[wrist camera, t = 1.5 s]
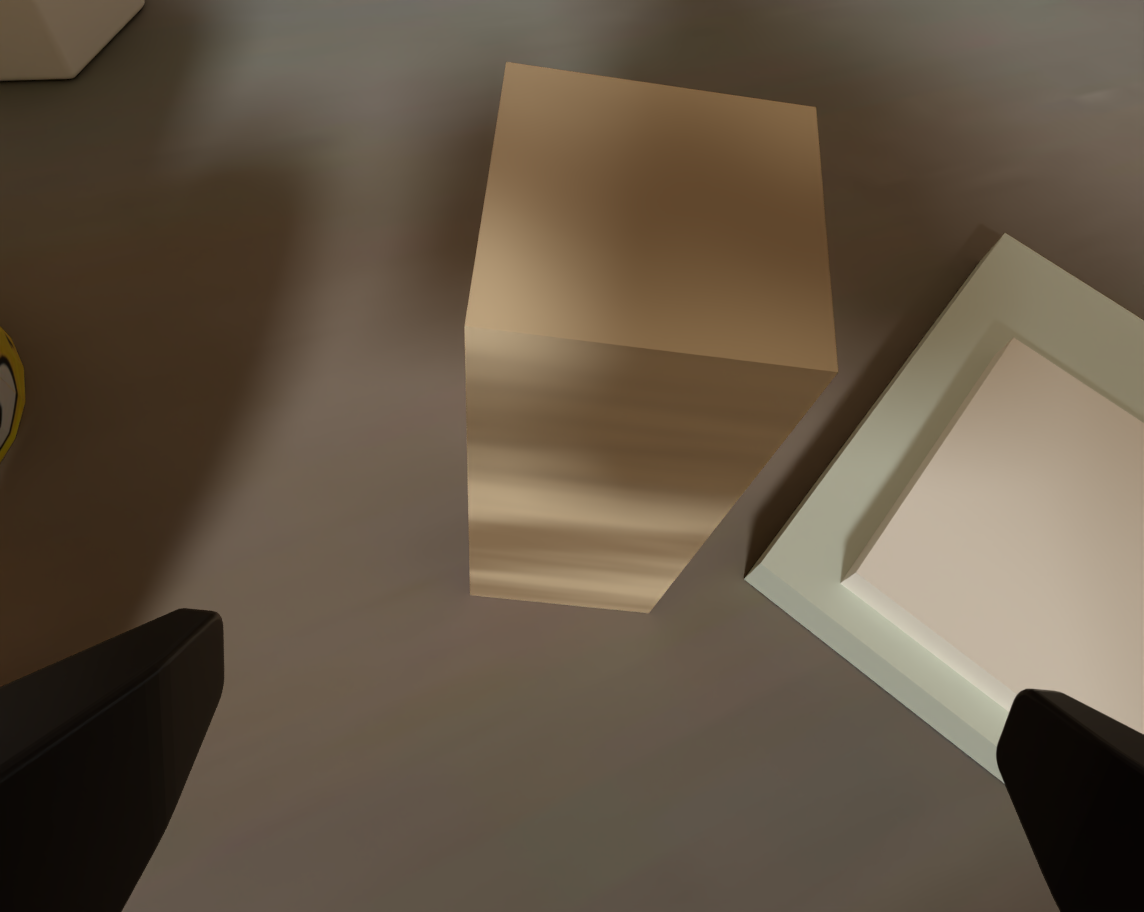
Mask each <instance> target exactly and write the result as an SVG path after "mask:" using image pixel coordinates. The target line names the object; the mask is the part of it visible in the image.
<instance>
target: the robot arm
mask: <svg viewBox="0 0 1144 912" xmlns="http://www.w3.org/2000/svg"><path fill="white" fill-rule="evenodd" d="M223 685H224V638H223V622H222V618H221V616H220V615H219V614H218V613H217V612H215V611H208V610H197V609H187V608H183V609H178V610H175V611H173V612H170V613H168V614H166V615H164V616H161V617H159V618H157V619H155V620H152V621H150V622H148V623H145V624H143V625H141V626H139V627H136V628H134V629H132V630H129V631H127V632H125V633H123V634H120V635H118V636H116V637H114V638H111V639H109V640H107V641H104V642H102V643H100V644H98V645H95V646H93V647H91V648H88V649H86V650H84V651H82V652H79V653H77V654H75V655H73V656H70V657H68V658H66V659H63V660H61V661H59V662H57V663H54V664H52V665H50V666H47V667H45V668H43V669H41V670H38V671H36V672H34V673H31V674H29V675H27V676H25V677H22V678H20V679H18V680H16V681H13V682H11V683H9V684H6V685H4V686H2V687H0V912H122V910H123V908H124V906H125V904H126V902H127V901H128V899H129V897H130V895H131V893H132V891H133V890H134V888H135V886H136V884H137V882H138V880H139V879H140V877H141V875H142V873H143V871H144V870H145V868H146V866H147V864H148V862H149V860H150V859H151V857H152V855H153V853H154V851H155V849H156V847H157V845H158V844H159V842H160V840H161V838H162V836H163V834H164V832H165V830H166V828H167V826H168V824H169V821H170V819H171V817H172V814H173V812H174V810H175V808H176V805H177V803H178V800H179V798H180V796H181V793H182V791H183V788H184V786H185V783H186V781H187V778H188V776H189V774H190V771H191V769H192V766H193V764H194V761H195V759H196V757H197V754H198V752H199V749H200V747H201V744H202V742H203V740H204V737H205V735H206V732H207V730H208V727H209V725H210V722H211V720H212V718H213V715H214V713H215V710H216V708H217V705H218V703H219V700H220V698H221V694H222V690H223ZM996 760H997V765H998V769H999V772H1000V774H1001V776H1002V779H1003V781H1004V783H1005V786H1006V788H1007V791H1008V793H1009V795H1010V798H1011V800H1012V803H1013V805H1014V807H1015V810H1016V812H1017V814H1018V817H1019V819H1020V822H1021V824H1022V826H1023V829H1024V831H1025V833H1026V836H1027V838H1028V841H1029V843H1030V845H1031V848H1032V850H1033V852H1034V855H1035V857H1036V860H1037V862H1038V864H1039V867H1040V869H1041V871H1042V874H1043V876H1044V878H1045V881H1046V883H1047V885H1048V887H1049V889H1050V892H1051V894H1052V896H1053V898H1054V900H1055V902H1056V904H1057V906H1058V908H1059V910H1060V912H1144V734H1142V733H1140V732H1138V731H1136V730H1134V729H1132V728H1130V727H1128V726H1126V725H1125V724H1123V723H1121V722H1119V721H1117V720H1115V719H1113V718H1111V717H1109V716H1107V715H1105V714H1103V713H1101V712H1099V711H1097V710H1095V709H1093V708H1091V707H1090V706H1088V705H1086V704H1084V703H1082V702H1080V701H1078V700H1076V699H1074V698H1072V697H1070V696H1068V695H1066V694H1064V693H1062V692H1058V691H1053V690H1042V689H1030V688H1028V689H1024V690H1022V691H1020V692H1019V693H1018V694H1017V695H1016V697H1015V699H1014V701H1013V703H1012V706H1011V709H1010V711H1009V714H1008V717H1007V720H1006V722H1005V725H1004V728H1003V730H1002V733H1001V736H1000V738H999V741H998V744H997V749H996Z"/></svg>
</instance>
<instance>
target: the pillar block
mask: <svg viewBox="0 0 1144 912" xmlns="http://www.w3.org/2000/svg"><path fill="white" fill-rule="evenodd" d="M465 372H466V420H467V468H468V516H469V565H470V595H474V596H484V597H494V598H504V599H513V600H523V601H533V602H543V603H553V604H563V605H573V606H583V607H593V608H603V609H612V610H622V611H632V612H642V613H649V612H650V611H651V610H652V608H653V607H654V606H655V605H656V603H657V602H658V601H659V599H660V598H661V597H662V596H663V594H664V593H665V592H666V591H667V589H668V588H669V587H670V585H671V584H672V583H673V582H674V580H675V579H676V578H677V577H678V575H679V574H680V573H681V571H682V570H683V569H684V568H685V566H686V565H687V564H688V563H689V561H690V560H691V559H692V558H693V556H694V555H695V554H696V552H697V551H698V550H699V549H700V547H701V546H702V545H703V544H704V542H705V541H706V540H707V538H708V537H709V536H710V535H711V533H712V532H713V531H714V530H715V528H716V527H717V526H718V524H719V523H720V522H721V521H722V519H723V518H724V517H725V516H726V514H727V513H728V512H729V510H730V509H731V508H732V507H733V505H734V504H735V503H736V502H737V500H738V499H739V498H740V496H741V495H742V494H743V493H744V491H745V490H746V489H747V488H748V486H749V485H750V484H751V482H752V481H753V480H754V479H755V477H756V476H757V475H758V474H759V472H760V471H761V470H762V469H763V467H764V466H765V465H766V463H767V462H768V461H769V460H770V458H771V457H772V456H773V455H774V453H775V452H776V451H777V449H778V448H779V447H780V446H781V444H782V443H783V442H784V441H785V439H786V438H787V437H788V435H789V434H790V433H791V432H792V430H793V429H794V428H795V427H796V425H797V424H798V423H799V421H800V420H801V419H802V418H803V416H804V415H805V414H806V413H807V411H808V410H809V409H810V407H811V406H812V405H813V404H814V402H815V401H816V400H817V399H818V397H819V396H820V395H821V394H822V392H823V391H824V390H825V388H826V387H827V386H828V385H829V383H830V382H831V381H832V380H833V378H834V377H835V376H836V374H837V373H838V363H837V351H836V339H835V327H834V315H833V303H832V292H831V280H830V268H829V256H828V244H827V232H826V220H825V208H824V196H823V184H822V172H821V160H820V148H819V136H818V125H817V113H816V107H811V106H804V105H797V104H791V103H784V102H777V101H770V100H763V99H756V98H750V97H743V96H736V95H729V94H722V93H715V92H708V91H702V90H695V89H688V88H681V87H674V86H667V85H661V84H654V83H647V82H640V81H633V80H626V79H619V78H613V77H606V76H599V75H592V74H585V73H578V72H571V71H565V70H558V69H551V68H544V67H537V66H530V65H524V64H517V63H510V62H506V67H505V74H504V80H503V86H502V93H501V99H500V105H499V111H498V118H497V124H496V130H495V137H494V143H493V149H492V156H491V162H490V168H489V175H488V181H487V187H486V194H485V200H484V206H483V213H482V219H481V225H480V232H479V238H478V244H477V251H476V257H475V263H474V269H473V276H472V282H471V288H470V295H469V301H468V307H467V314H466V320H465Z"/></svg>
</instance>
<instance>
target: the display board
mask: <svg viewBox="0 0 1144 912" xmlns="http://www.w3.org/2000/svg"><path fill="white" fill-rule="evenodd" d="M744 580H746V581H747V582H748V583H750V584H751V585H752V586H753V587H755V588H756V589H757V590H758V591H760V592H761V593H762V594H764V595H765V596H766V597H767V598H769V599H770V600H771V601H772V602H774V603H775V604H776V605H778V606H779V607H780V608H781V609H783V610H784V611H785V612H786V613H788V614H789V615H790V616H792V617H793V618H794V619H795V620H797V621H798V622H799V623H800V624H802V625H803V626H804V627H806V628H807V629H808V630H809V631H811V632H812V633H813V634H815V635H816V636H817V637H818V638H820V639H821V640H822V641H823V642H825V643H826V644H827V645H829V646H830V647H831V648H832V649H834V650H835V651H836V652H837V653H839V654H840V655H841V656H843V657H844V658H845V659H846V660H848V661H849V662H850V663H851V664H853V665H854V666H855V667H857V668H858V669H859V670H860V671H862V672H863V673H864V674H865V675H867V676H868V677H869V678H871V679H872V680H873V681H874V682H876V683H877V684H878V685H879V686H881V687H882V688H883V689H885V690H886V691H887V692H888V693H890V694H891V695H892V696H894V697H895V698H896V699H897V700H899V701H900V702H901V703H902V704H904V705H905V706H906V707H908V708H909V709H910V710H911V711H913V712H914V713H915V714H916V715H918V716H919V717H920V718H922V719H923V720H924V721H925V722H927V723H928V724H929V725H930V726H932V727H933V728H934V729H936V730H937V731H938V732H939V733H941V734H942V735H943V736H944V737H946V738H947V739H948V740H950V741H951V742H952V743H953V744H955V745H956V746H957V747H958V748H960V749H961V750H962V751H964V752H965V753H966V754H967V755H969V756H970V757H971V758H972V759H974V760H975V761H976V762H978V763H979V764H980V765H981V766H983V767H984V768H985V769H987V770H988V771H989V772H990V773H992V774H993V775H994V776H995V777H997V778H998V779H999V780H1001V781H1002V782H1003V783H1004V781H1003V779H1002V776H1001V774H1000V772H999V769H998V765H997V760H996V749H997V744H998V741H999V738H1000V736H1001V733H1002V730H1003V728H1004V725H1005V722H1006V720H1007V717H1008V714H1009V711H1010V709H1011V706H1012V703H1013V701H1014V699H1015V697H1016V695H1017V694H1018V693H1019V692H1020V691H1022V690H1024V689H1028V688H1030V689H1042V690H1053V691H1058V692H1062V693H1064V694H1066V695H1068V696H1070V697H1072V698H1074V699H1076V700H1078V701H1080V702H1082V703H1084V704H1086V705H1088V706H1090V707H1091V708H1093V709H1095V710H1097V711H1099V712H1101V713H1103V714H1105V715H1107V716H1109V717H1111V718H1113V719H1115V720H1117V721H1119V722H1121V723H1123V724H1125V725H1126V726H1128V727H1130V728H1132V729H1134V730H1136V731H1138V732H1140V733H1142V734H1144V320H1142V319H1141V318H1139V317H1137V316H1136V315H1134V314H1133V313H1131V312H1129V311H1128V310H1126V309H1125V308H1123V307H1122V306H1120V305H1118V304H1117V303H1115V302H1114V301H1112V300H1111V299H1109V298H1107V297H1106V296H1104V295H1103V294H1101V293H1099V292H1098V291H1096V290H1095V289H1093V288H1092V287H1090V286H1088V285H1087V284H1085V283H1084V282H1082V281H1080V280H1079V279H1077V278H1076V277H1074V276H1073V275H1071V274H1069V273H1068V272H1066V271H1065V270H1063V269H1061V268H1060V267H1058V266H1057V265H1055V264H1054V263H1052V262H1050V261H1049V260H1047V259H1046V258H1044V257H1042V256H1041V255H1039V254H1038V253H1036V252H1035V251H1033V250H1031V249H1030V248H1028V247H1027V246H1025V245H1024V244H1022V243H1020V242H1019V241H1017V240H1016V239H1014V238H1012V237H1011V236H1009V235H1008V234H1006V233H1004V234H1003V236H1002V237H1001V238H1000V239H999V240H998V241H997V242H996V244H995V245H994V246H993V247H992V248H991V249H990V250H989V251H988V253H987V254H986V255H985V256H984V257H983V258H982V259H981V261H980V262H979V263H978V265H977V266H976V267H975V269H974V270H973V271H972V273H971V274H970V275H969V277H968V278H967V279H966V281H965V282H964V283H963V285H962V286H961V288H960V289H959V290H958V292H957V293H956V294H955V296H954V297H953V298H952V300H951V301H950V302H949V304H948V305H947V306H946V308H945V309H944V310H943V312H942V313H941V314H940V316H939V317H938V318H937V320H936V321H935V323H934V324H933V325H932V327H931V328H930V329H929V331H928V332H927V333H926V335H925V336H924V337H923V339H922V340H921V341H920V343H919V344H918V345H917V347H916V348H915V349H914V351H913V352H912V353H911V355H910V356H909V357H908V359H907V360H906V362H905V363H904V364H903V366H902V367H901V368H900V370H899V371H898V372H897V374H896V375H895V376H894V378H893V379H892V380H891V382H890V383H889V384H888V386H887V387H886V388H885V390H884V391H883V392H882V394H881V395H880V397H879V398H878V399H877V401H876V402H875V403H874V405H873V406H872V407H871V409H870V410H869V411H868V413H867V414H866V415H865V417H864V418H863V419H862V421H861V422H860V423H859V425H858V426H857V427H856V429H855V430H854V432H853V433H852V434H851V436H850V437H849V438H848V440H847V441H846V442H845V444H844V445H843V446H842V448H841V449H840V450H839V452H838V453H837V454H836V456H835V457H834V458H833V460H832V461H831V462H830V464H829V465H828V467H827V468H826V469H825V471H824V472H823V473H822V475H821V476H820V477H819V479H818V480H817V481H816V483H815V484H814V485H813V487H812V488H811V489H810V491H809V492H808V493H807V495H806V496H805V497H804V499H803V500H802V502H801V503H800V504H799V506H798V507H797V508H796V510H795V511H794V512H793V514H792V515H791V516H790V518H789V519H788V520H787V522H786V523H785V524H784V526H783V527H782V528H781V530H780V531H779V532H778V534H777V535H776V536H775V538H774V539H773V541H772V542H771V543H770V545H769V546H768V547H767V549H766V550H765V551H764V553H763V554H762V555H761V557H760V558H759V559H758V561H757V562H756V563H755V565H754V566H753V567H752V569H751V570H750V571H749V573H748V574H747V576H746V577H745V578H744ZM1004 784H1005V783H1004Z"/></svg>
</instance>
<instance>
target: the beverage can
mask: <svg viewBox="0 0 1144 912" xmlns="http://www.w3.org/2000/svg"><path fill="white" fill-rule="evenodd" d="M25 402H26V401H25V379H24V367H23V364H22V362H21V360H20V357H19V355H18V353H17V350H16V348H15V346H14V343H13V341H12V339H11V337H10V336H9V335H8V334H7V333H6V332H5V331H4V330H3V329H2V328H1V327H0V463H1V461H2V460H3V458H4V456H5V455H6V453H7V451H8V450H9V448H10V446H11V445H12V443H13V441H14V440H15V438H16V434H17V431H18V427H19V423H20V420H21V416H22V413H23V409H24V406H25Z"/></svg>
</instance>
